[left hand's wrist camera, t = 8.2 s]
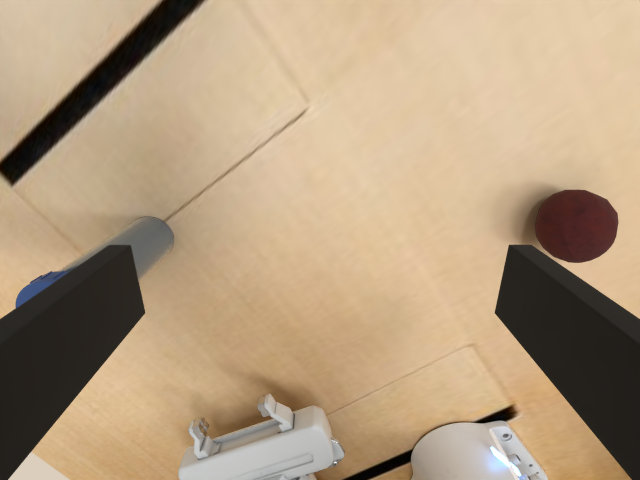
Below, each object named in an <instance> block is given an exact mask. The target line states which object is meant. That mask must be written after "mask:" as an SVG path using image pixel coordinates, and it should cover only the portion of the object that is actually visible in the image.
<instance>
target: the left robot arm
mask: <svg viewBox="0 0 640 480" xmlns="http://www.w3.org/2000/svg"><path fill="white" fill-rule="evenodd" d="M144 314H145V309H144V305H143V300H142V295H141V290H140V286H139V281H138V276H137V271H136V266H135V262H134V257H133V252H132V247H131V245H108V246H107V247H105V248H104V249H102V250H101V251H99V252H98V253H96V254H95V255H93V256H92V257H90V258H89V259H88V260H86V261H85V262H83V263H82V264H80V265H79V266H77V267H76V268H74V269H73V270H71V271H70V272H69V273H67V274H66V275H64V276H63V277H61V278H60V279H58V280H57V281H55V282H54V283H52V284H51V285H50V286H48V287H47V288H45V289H44V290H42V291H41V292H39V293H38V294H36V295H35V296H33V297H32V298H31V299H29V300H28V301H26V302H25V303H23V304H22V305H20V306H19V307H17V308H16V309H14V310H13V311H11V312H10V313H9V314H7V315H6V316H4V317H3V318H1V319H0V480H8V479H9V478H10V476H11V475H12V474H13V473H14V472H15V470H16V469H17V468H18V467H19V466H20V464H21V463H22V462H23V461H24V460H25V458H26V457H27V456H28V455H29V453H30V452H31V451H32V450H33V449H34V447H35V446H36V445H37V444H38V443H39V441H40V440H41V439H42V438H43V436H44V435H45V434H46V433H47V432H48V430H49V429H50V428H51V427H52V426H53V424H54V423H55V422H56V421H57V419H58V418H59V417H60V416H61V415H62V413H63V412H64V411H65V410H66V409H67V407H68V406H69V405H70V404H71V402H72V401H73V400H74V399H75V398H76V396H77V395H78V394H79V393H80V392H81V390H82V389H83V388H84V387H85V385H86V384H87V383H88V382H89V381H90V379H91V378H92V377H93V376H94V374H95V373H96V372H97V371H98V370H99V368H100V367H101V366H102V365H103V364H104V362H105V361H106V360H107V359H108V357H109V356H110V355H111V354H112V353H113V351H114V350H115V349H116V348H117V347H118V345H119V344H120V343H121V342H122V340H123V339H124V338H125V337H126V336H127V334H128V333H129V332H130V331H131V330H132V328H133V327H134V326H135V325H136V323H137V322H138V321H139V320H140V319H141V317H142V316H143V315H144ZM495 314H496V315H497V316H498V317H499V319H500V320H501V321H502V322H503V323H504V325H505V326H506V327H507V328H508V330H509V331H510V332H511V333H512V334H513V336H514V337H515V338H516V339H517V340H518V342H519V343H520V344H521V345H522V347H523V348H524V349H525V350H526V351H527V353H528V354H529V355H530V356H531V357H532V359H533V360H534V361H535V362H536V364H537V365H538V366H539V367H540V368H541V370H542V371H543V372H544V373H545V374H546V376H547V377H548V378H549V379H550V381H551V382H552V383H553V384H554V385H555V387H556V388H557V389H558V390H559V392H560V393H561V394H562V395H563V396H564V398H565V399H566V400H567V401H568V402H569V404H570V405H571V406H572V407H573V409H574V410H575V411H576V412H577V413H578V415H579V416H580V417H581V418H582V419H583V421H584V422H585V423H586V424H587V426H588V427H589V428H590V429H591V430H592V432H593V433H594V434H595V435H596V436H597V438H598V439H599V440H600V441H601V443H602V444H603V445H604V446H605V447H606V449H607V450H608V451H609V452H610V453H611V455H612V456H613V457H614V458H615V460H616V461H617V462H618V463H619V464H620V466H621V467H622V468H623V469H624V470H625V472H626V473H627V474H628V475H629V477H630V478H631V479H632V480H640V319H639V318H637V317H636V316H634V315H633V314H631V313H630V312H628V311H627V310H626V309H624V308H623V307H621V306H620V305H618V304H617V303H615V302H614V301H612V300H611V299H609V298H608V297H607V296H605V295H604V294H602V293H601V292H599V291H598V290H596V289H595V288H593V287H592V286H590V285H589V284H588V283H586V282H585V281H583V280H582V279H580V278H579V277H577V276H576V275H574V274H573V273H571V272H570V271H569V270H567V269H566V268H564V267H563V266H561V265H560V264H558V263H557V262H555V261H554V260H552V259H551V258H550V257H548V256H547V255H545V254H544V253H542V252H541V251H539V250H538V249H536V248H535V247H533V246H532V245H509V247H508V252H507V257H506V262H505V266H504V271H503V276H502V281H501V286H500V290H499V295H498V300H497V305H496V309H495Z"/></svg>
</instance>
